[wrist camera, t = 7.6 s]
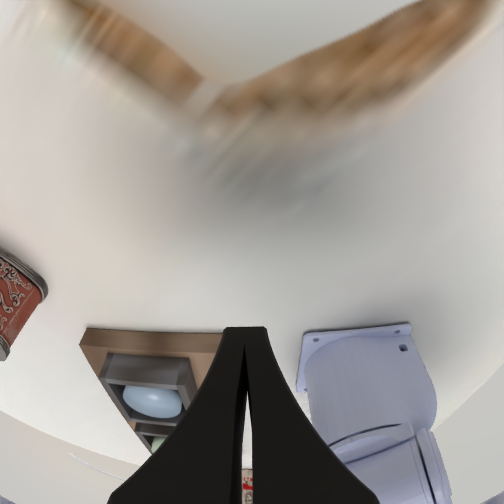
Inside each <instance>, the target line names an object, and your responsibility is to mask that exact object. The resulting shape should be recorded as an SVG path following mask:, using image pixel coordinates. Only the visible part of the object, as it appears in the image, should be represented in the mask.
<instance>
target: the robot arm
mask: <svg viewBox="0 0 504 504" xmlns="http://www.w3.org/2000/svg"><path fill="white" fill-rule="evenodd" d="M411 331H412V326H411V324H401V325H392V326H384V327H374V328H364V329H354V330H342V331H329V332H314V333H307V334H305V335H304V336H303V340H302V348H301V355H300V362H299V369H298V376H297V383H296V391H297V392H307V394H308V400H309V407H310V414H311V421H312V424H311V423H310V421H309V420H308V418H307V417H306V415H305V414H304V412H303V411H302V409H301V408H300V406H299V404H298V403H297V401H296V399H295V397H294V396H293V394H292V392H291V390H290V388H289V386H288V384H287V383H286V381H285V378H284V376H283V374H282V372H281V370H280V368H279V366H278V363H277V361H276V358H275V356H274V353H273V351H272V348H271V345H270V341H269V338H268V334H267V329H266V328H265V327H264V326H261V327H226V328H225V329H224V330H223V335H222V338H221V341H220V344H219V347H218V349H217V352H216V354H215V357H214V359H213V362H212V364H211V366H210V368H209V370H208V372H207V374H206V376H205V378H204V380H203V382H202V384H201V386H200V388H199V389H198V391H197V393H196V395H195V397H194V398H193V400H192V402H191V403H190V405H189V407H188V408H187V410H186V411H185V413H184V414H183V416H182V417H181V419H180V420H179V422H178V423H177V425H176V426H175V427H174V429H173V430H172V431H171V432H170V434H169V435H168V436H167V438H166V439H165V440H164V441H163V443H162V444H161V445H160V446H159V448H158V449H157V450H156V451H155V452H154V453H153V454H152V455H151V456H150V457H149V458H148V460H147V461H146V462H145V463H144V464H143V465H142V466H141V467H140V468H139V469H138V470H137V471H136V472H135V473H134V474H133V475H132V476H131V477H130V478H128V479H127V480H126V481H125V482H124V483H123V484H122V485H121V486H119V487H118V488H117V489H116V490H115V491H114V492H112V494H111V495H110V497H109V500H108V502H107V504H242V442H243V432H244V422H245V411H246V401H247V391H248V400H249V409H250V418H251V427H252V504H452V501H451V494H452V493H451V488H450V484H449V481H448V477H447V473H446V470H445V467H444V464H443V460H442V457H441V454H440V451H439V448H438V445H437V442H436V439H435V437H434V434H433V432H432V431H429V430H430V428H431V427H432V425H433V423H434V420H435V417H436V411H437V401H436V394H435V389H434V386H433V383H432V381H431V378H430V376H429V374H428V372H427V370H426V367H425V365H424V363H423V361H422V359H421V357H420V355H419V352H418V350H417V348H416V346H415V344H414V342H413V340H412V338H411V336H410V333H411ZM314 338H316V339H314ZM418 440H419V441H418ZM0 504H15V503H13V502H12V501H9V500H7V499H6V498H4V497H2V496H1V495H0ZM481 504H504V491H503V492H501V493H500V494H498V495H496V496H494V497H492V498H491V499H489V500H487V501H485V502H483V503H481Z"/></svg>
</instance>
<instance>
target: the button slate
mask: <svg viewBox="0 0 504 504" xmlns="http://www.w3.org/2000/svg"><path fill="white" fill-rule="evenodd" d="M123 399H124V401H125V402H126V403H127V404H128V405H129V406H130V407H131V408H133V409H134V410H136V411H138V412H140V413H142V414H145V415H148V416H151V417H157V418H170V417H174V416H177V415H178V414H179V413H180V412H181V407H182V400H181V397H180V394H179V392H178V390H173V389H159V388H147V387H137V386H128V385H126V386H125V390H124V393H123Z"/></svg>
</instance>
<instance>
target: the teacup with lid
mask: <svg viewBox="0 0 504 504" xmlns="http://www.w3.org/2000/svg"><path fill="white" fill-rule="evenodd" d="M242 504H252V470H247V469H242Z"/></svg>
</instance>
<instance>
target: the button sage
mask: <svg viewBox="0 0 504 504" xmlns="http://www.w3.org/2000/svg"><path fill="white" fill-rule="evenodd" d="M166 438H167V437H158V436H154V437H153V443H152V448H151V451H152V453H154V452H155V451H156V450H157V449H158V448H159V446H160V445H161V444H162V443H163V441H164V440H165V439H166Z"/></svg>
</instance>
